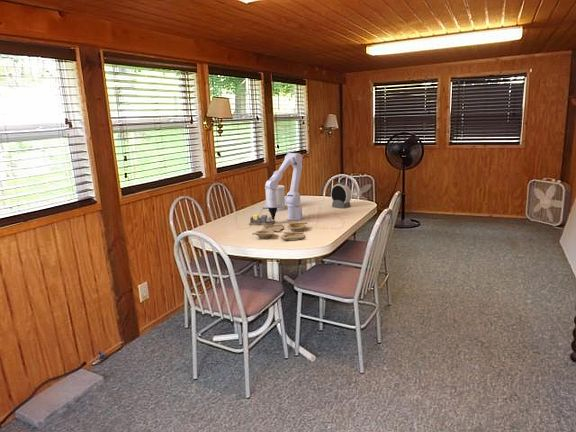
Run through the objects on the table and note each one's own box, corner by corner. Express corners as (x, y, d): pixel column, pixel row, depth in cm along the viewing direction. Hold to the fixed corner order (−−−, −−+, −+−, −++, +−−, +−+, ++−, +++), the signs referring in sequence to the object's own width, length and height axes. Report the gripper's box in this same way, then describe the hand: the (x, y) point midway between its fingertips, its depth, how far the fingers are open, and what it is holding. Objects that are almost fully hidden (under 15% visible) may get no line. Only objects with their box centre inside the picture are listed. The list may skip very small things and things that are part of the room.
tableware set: (302, 242, 230) (301, 235, 229) (250, 242, 235) (249, 235, 234) (310, 226, 263) (309, 220, 262) (264, 226, 269) (264, 220, 268)
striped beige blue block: (271, 221, 275) (271, 216, 274) (270, 222, 272) (270, 217, 272) (261, 221, 277) (261, 216, 276) (260, 222, 274) (260, 217, 273)
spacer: (259, 221, 278) (258, 214, 277) (257, 222, 274) (257, 216, 273) (255, 221, 278) (254, 214, 277) (253, 222, 274) (252, 215, 273)
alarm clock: (328, 206, 319) (327, 182, 314) (337, 204, 325) (337, 180, 321) (345, 209, 307) (344, 184, 303) (353, 206, 313) (353, 182, 309)
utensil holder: (287, 207, 323) (286, 184, 319) (283, 211, 309) (282, 187, 305) (268, 207, 326) (267, 185, 322) (264, 211, 312) (262, 188, 308)
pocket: (263, 220, 278) (263, 215, 278) (260, 223, 272) (260, 218, 271) (253, 220, 280) (253, 215, 279) (250, 223, 273) (250, 217, 273)
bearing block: (267, 221, 277) (267, 215, 276) (265, 223, 272) (264, 217, 271) (263, 220, 278) (262, 215, 277) (260, 223, 272) (260, 217, 271)
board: (275, 221, 278) (275, 220, 278) (271, 225, 269) (271, 223, 269) (253, 221, 282) (253, 220, 281) (249, 225, 272) (249, 223, 272)
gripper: (282, 196, 275) (283, 217, 278) (260, 198, 272) (261, 219, 275) (284, 198, 268) (285, 219, 271) (261, 200, 266) (262, 221, 269)
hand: (273, 219), depth 273 cm, fingers closed
